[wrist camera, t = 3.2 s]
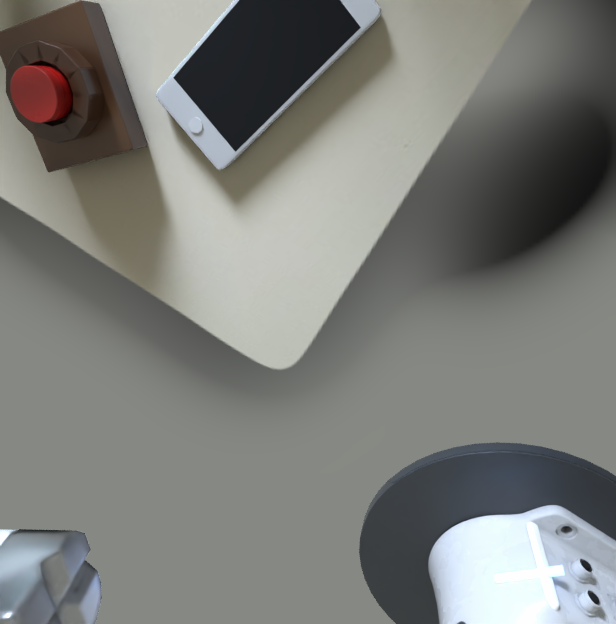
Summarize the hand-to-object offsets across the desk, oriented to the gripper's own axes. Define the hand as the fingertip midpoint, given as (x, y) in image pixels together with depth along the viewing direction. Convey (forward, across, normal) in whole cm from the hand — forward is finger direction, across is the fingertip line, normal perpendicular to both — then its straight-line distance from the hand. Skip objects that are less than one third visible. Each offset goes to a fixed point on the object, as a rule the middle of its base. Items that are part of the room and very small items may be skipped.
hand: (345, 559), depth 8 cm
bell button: (+34, -21, +8) cm, 40 cm away
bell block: (+37, -21, +8) cm, 43 cm away
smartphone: (+35, -6, +9) cm, 36 cm away
